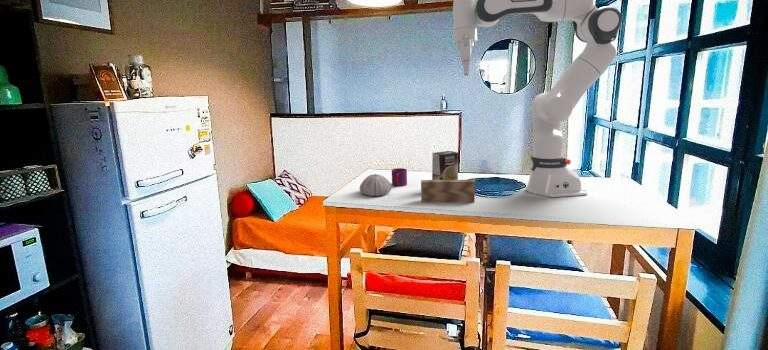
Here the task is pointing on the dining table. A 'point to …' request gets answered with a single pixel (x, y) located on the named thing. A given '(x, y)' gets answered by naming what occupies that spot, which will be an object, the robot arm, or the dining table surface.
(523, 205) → the dining table surface
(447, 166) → the coffee box
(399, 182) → the mug
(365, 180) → the sea urchin shell
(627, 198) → the dining table surface
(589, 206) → the dining table surface
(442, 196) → the brown rectangular block
